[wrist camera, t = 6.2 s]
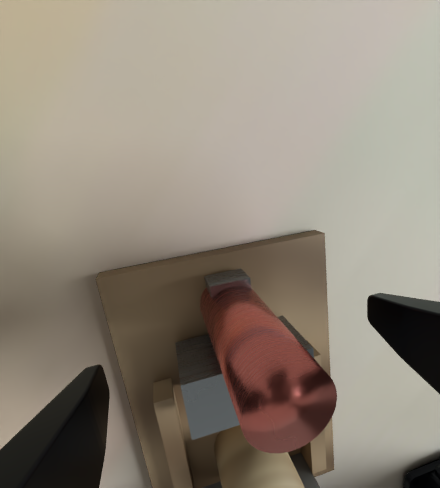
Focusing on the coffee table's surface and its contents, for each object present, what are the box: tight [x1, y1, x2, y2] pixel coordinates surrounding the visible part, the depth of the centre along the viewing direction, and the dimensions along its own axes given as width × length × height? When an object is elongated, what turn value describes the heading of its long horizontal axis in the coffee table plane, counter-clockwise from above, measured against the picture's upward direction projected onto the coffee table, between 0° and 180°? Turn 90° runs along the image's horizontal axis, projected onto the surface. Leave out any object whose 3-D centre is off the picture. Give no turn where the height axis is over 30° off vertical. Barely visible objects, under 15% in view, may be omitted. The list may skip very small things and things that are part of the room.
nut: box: [214, 425, 305, 488], centre depth 13 cm, size 3×3×3 cm
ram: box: [175, 268, 337, 453], centre depth 9 cm, size 5×5×6 cm
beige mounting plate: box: [96, 230, 334, 488], centre depth 12 cm, size 14×10×5 cm
